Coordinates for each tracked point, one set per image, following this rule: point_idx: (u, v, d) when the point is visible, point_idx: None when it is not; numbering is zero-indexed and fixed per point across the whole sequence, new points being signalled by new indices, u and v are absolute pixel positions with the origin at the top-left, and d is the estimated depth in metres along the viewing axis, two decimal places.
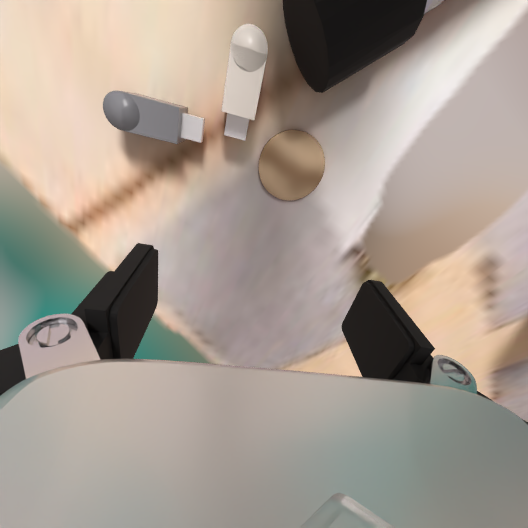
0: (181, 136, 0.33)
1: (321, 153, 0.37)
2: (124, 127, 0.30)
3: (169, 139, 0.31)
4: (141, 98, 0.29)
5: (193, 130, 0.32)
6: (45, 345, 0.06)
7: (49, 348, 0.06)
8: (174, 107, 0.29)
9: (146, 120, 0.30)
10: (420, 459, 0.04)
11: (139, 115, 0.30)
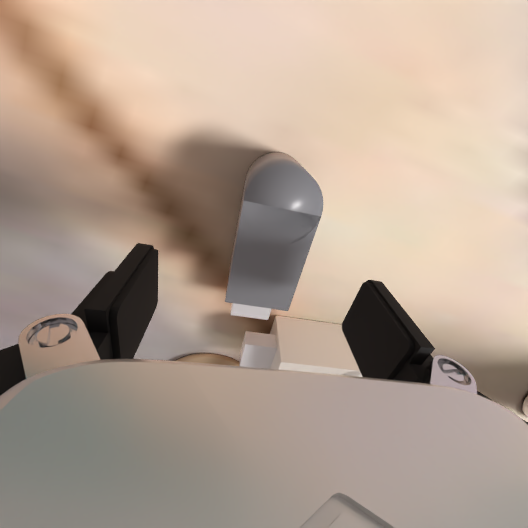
0: None
1: None
2: (250, 206, 0.12)
3: (232, 291, 0.15)
4: (305, 253, 0.14)
5: (249, 305, 0.18)
6: (45, 345, 0.06)
7: (49, 348, 0.06)
8: (288, 304, 0.16)
9: (265, 256, 0.14)
10: (420, 459, 0.04)
11: (275, 244, 0.14)
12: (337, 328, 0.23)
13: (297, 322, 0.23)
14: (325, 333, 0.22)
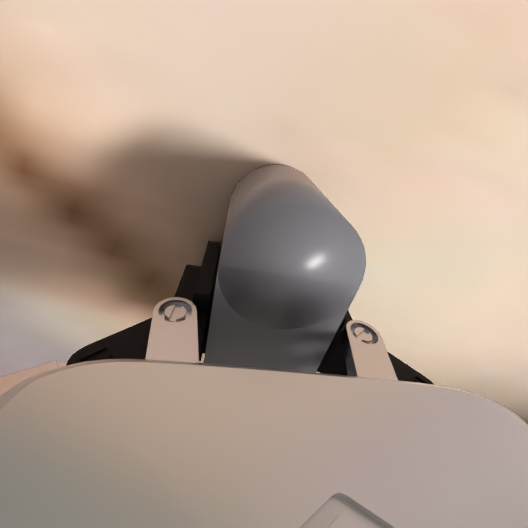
0: None
1: None
2: (231, 274, 0.07)
3: None
4: (328, 338, 0.08)
5: None
6: (167, 319, 0.07)
7: (169, 322, 0.07)
8: None
9: (260, 345, 0.08)
10: (420, 459, 0.04)
11: (278, 328, 0.08)
12: None
13: None
14: None
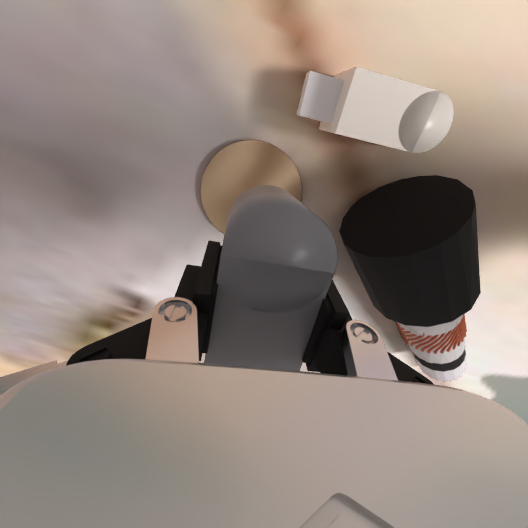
0: None
1: None
2: (231, 263, 0.08)
3: None
4: (312, 322, 0.10)
5: None
6: (167, 319, 0.07)
7: (169, 322, 0.07)
8: None
9: (255, 329, 0.10)
10: (420, 459, 0.04)
11: (269, 313, 0.09)
12: None
13: None
14: None
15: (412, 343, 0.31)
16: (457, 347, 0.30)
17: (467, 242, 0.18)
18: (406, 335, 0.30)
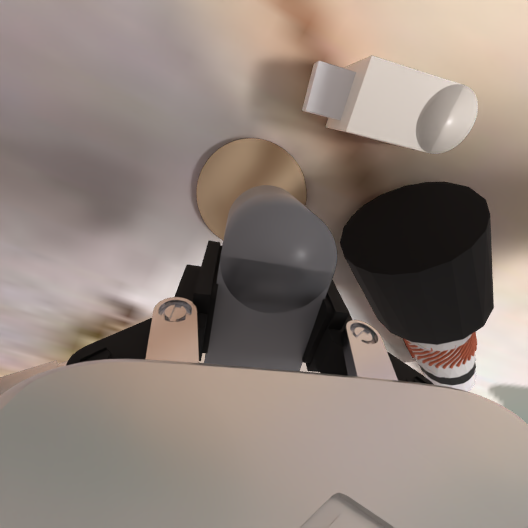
0: None
1: None
2: (231, 263, 0.08)
3: None
4: (312, 322, 0.10)
5: None
6: (167, 319, 0.07)
7: (169, 322, 0.07)
8: None
9: (255, 329, 0.10)
10: (420, 459, 0.04)
11: (270, 313, 0.09)
12: None
13: None
14: None
15: (419, 357, 0.29)
16: (467, 361, 0.28)
17: (481, 257, 0.17)
18: (412, 349, 0.29)
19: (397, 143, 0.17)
